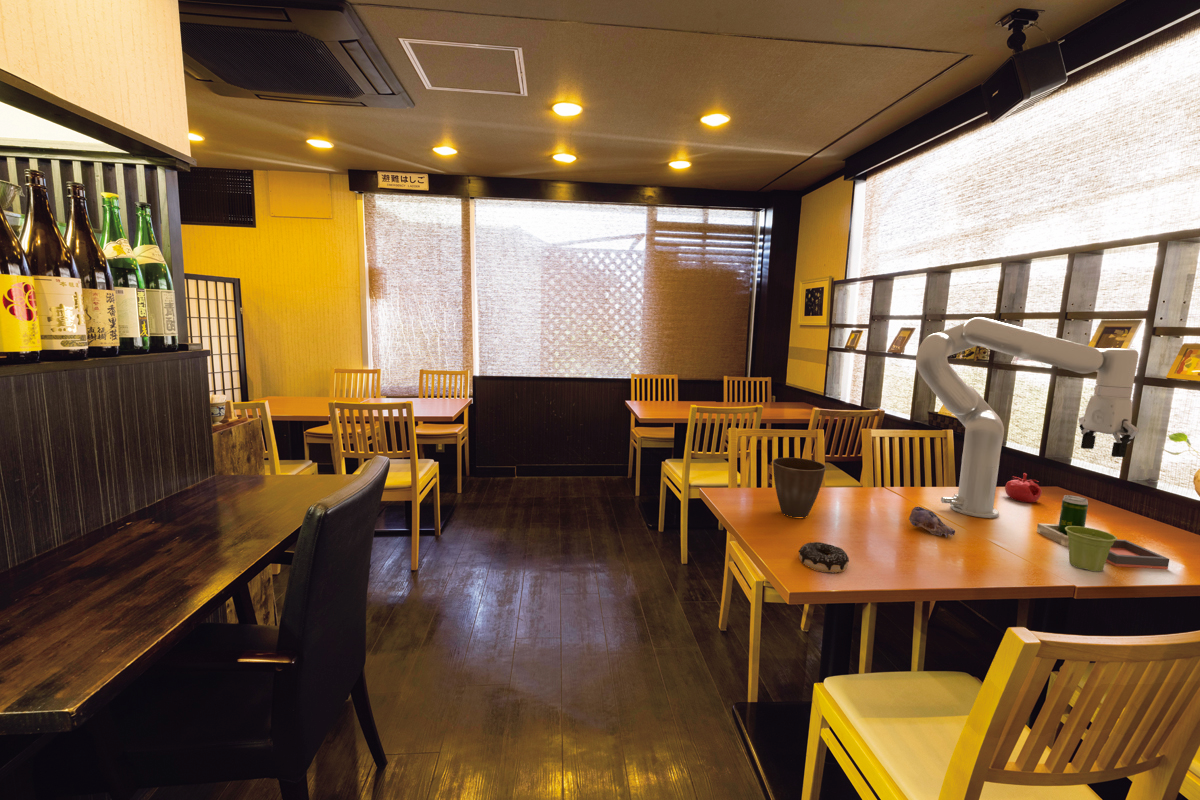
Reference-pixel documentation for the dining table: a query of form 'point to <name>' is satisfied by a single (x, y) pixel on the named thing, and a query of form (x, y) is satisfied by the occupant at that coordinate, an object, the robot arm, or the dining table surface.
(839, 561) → the donut
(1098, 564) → the plant pot
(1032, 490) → the pomegranate
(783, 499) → the plant pot
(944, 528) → the skull
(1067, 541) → the cedar frame
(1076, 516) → the beer can
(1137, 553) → the lacquer tray
